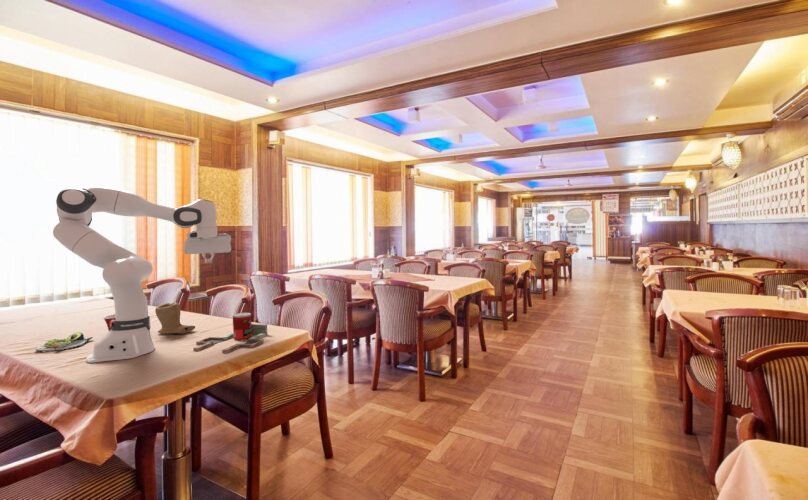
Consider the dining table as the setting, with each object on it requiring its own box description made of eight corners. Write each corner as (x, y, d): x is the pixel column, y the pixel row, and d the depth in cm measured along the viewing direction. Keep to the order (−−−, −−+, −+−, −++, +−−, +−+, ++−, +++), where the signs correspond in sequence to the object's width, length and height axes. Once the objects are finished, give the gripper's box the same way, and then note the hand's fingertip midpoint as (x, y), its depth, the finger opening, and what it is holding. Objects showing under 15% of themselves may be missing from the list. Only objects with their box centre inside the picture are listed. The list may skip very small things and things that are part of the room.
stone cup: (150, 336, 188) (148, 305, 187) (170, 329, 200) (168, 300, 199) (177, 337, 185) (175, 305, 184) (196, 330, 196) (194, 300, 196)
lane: (239, 354, 157) (238, 341, 157) (181, 350, 164) (180, 338, 164) (278, 335, 184) (278, 324, 183) (227, 332, 191) (227, 322, 191)
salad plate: (80, 350, 168) (79, 340, 168) (26, 356, 162) (25, 345, 161) (95, 339, 186) (95, 329, 186) (47, 344, 180) (47, 334, 179)
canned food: (246, 340, 176) (245, 316, 176) (230, 340, 177) (228, 316, 177) (255, 336, 184) (254, 312, 183) (239, 335, 185) (238, 312, 184)
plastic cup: (114, 337, 188) (112, 312, 187) (138, 336, 189) (136, 311, 188) (98, 343, 177) (96, 317, 177) (124, 342, 178) (122, 316, 177)
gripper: (230, 233, 196) (231, 261, 197) (182, 234, 186) (184, 263, 187) (231, 233, 191) (233, 261, 191) (183, 234, 180) (184, 264, 181)
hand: (208, 262), depth 189 cm, fingers closed
